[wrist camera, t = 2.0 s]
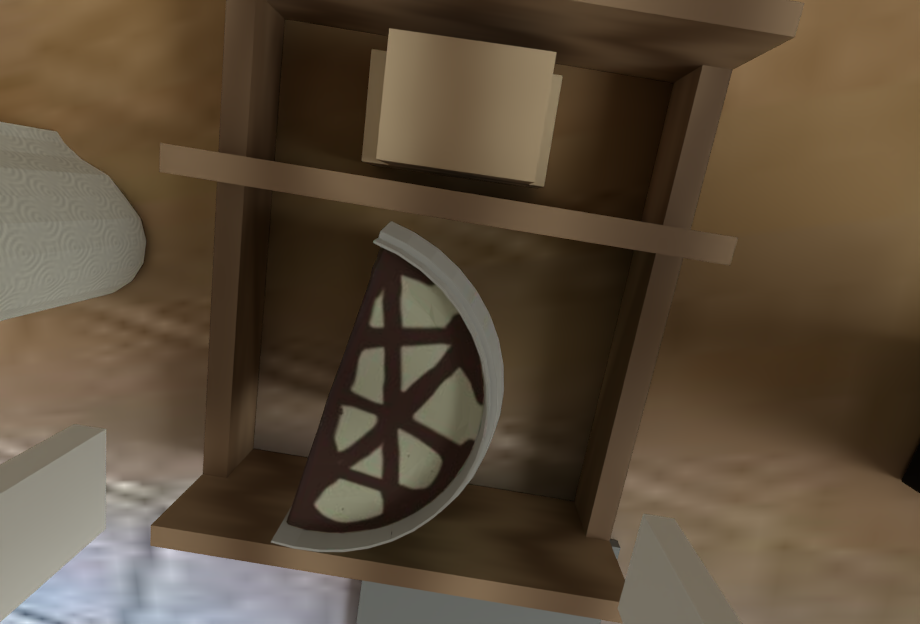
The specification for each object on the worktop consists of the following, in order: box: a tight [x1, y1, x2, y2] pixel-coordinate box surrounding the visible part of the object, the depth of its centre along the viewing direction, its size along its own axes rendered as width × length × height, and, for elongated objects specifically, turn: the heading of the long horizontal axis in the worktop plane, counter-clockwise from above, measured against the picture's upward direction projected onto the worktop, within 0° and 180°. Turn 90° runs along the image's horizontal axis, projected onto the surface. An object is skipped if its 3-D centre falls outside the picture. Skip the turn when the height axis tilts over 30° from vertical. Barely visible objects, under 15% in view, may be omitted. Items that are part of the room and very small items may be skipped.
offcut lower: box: [362, 49, 563, 188], centre depth 22 cm, size 8×4×3 cm, turn 82°
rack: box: [151, 0, 804, 623], centre depth 22 cm, size 21×24×7 cm
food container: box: [271, 221, 504, 552], centre depth 21 cm, size 12×6×10 cm, turn 159°
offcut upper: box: [376, 28, 557, 185], centre depth 19 cm, size 6×4×3 cm
